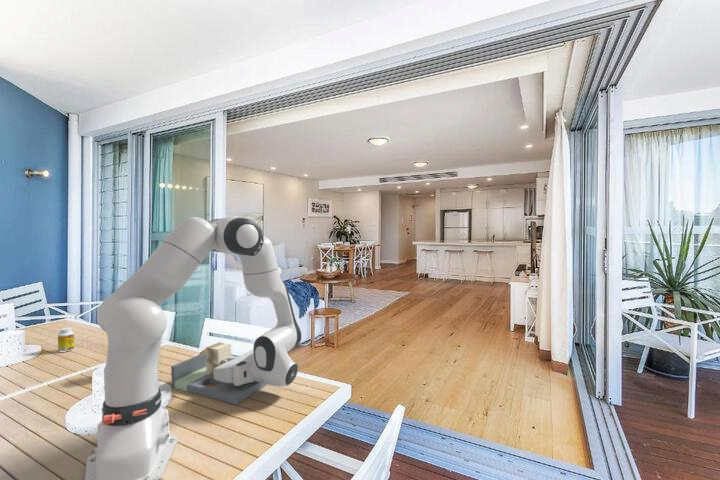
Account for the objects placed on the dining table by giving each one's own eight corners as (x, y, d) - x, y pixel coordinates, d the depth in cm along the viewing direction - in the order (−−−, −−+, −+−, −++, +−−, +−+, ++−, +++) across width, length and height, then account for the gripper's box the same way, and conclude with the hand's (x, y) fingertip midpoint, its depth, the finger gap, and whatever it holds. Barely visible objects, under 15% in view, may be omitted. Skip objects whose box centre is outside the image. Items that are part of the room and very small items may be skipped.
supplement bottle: (69, 352, 152) (68, 329, 152) (55, 353, 151) (54, 330, 151) (77, 348, 158) (76, 326, 157) (63, 349, 156) (62, 327, 156)
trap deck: (279, 376, 126) (279, 356, 125) (236, 404, 106) (236, 381, 105) (220, 364, 137) (220, 345, 137) (171, 387, 117) (171, 366, 117)
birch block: (231, 370, 125) (230, 344, 124) (218, 377, 119) (218, 349, 119) (219, 368, 127) (218, 342, 127) (206, 374, 122) (205, 347, 121)
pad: (234, 366, 134) (234, 360, 134) (187, 391, 114) (186, 384, 114) (223, 364, 137) (223, 358, 137) (174, 388, 117) (174, 381, 117)
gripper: (273, 348, 126) (245, 343, 131) (232, 369, 107) (201, 362, 112) (274, 364, 126) (245, 359, 131) (233, 388, 107) (201, 380, 113)
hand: (224, 360), depth 122 cm, fingers closed, pressing on birch block
